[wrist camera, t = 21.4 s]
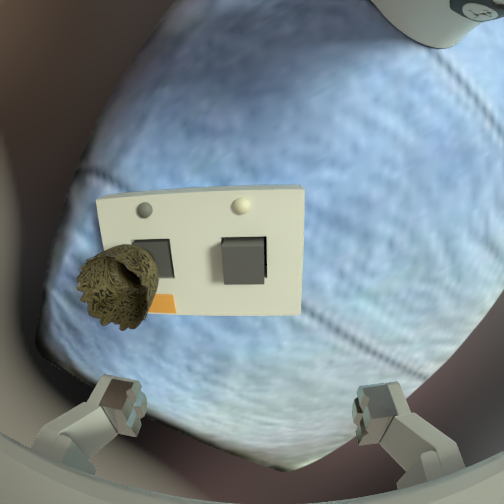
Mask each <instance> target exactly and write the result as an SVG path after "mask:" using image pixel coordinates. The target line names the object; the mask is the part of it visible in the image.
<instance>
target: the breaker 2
mask: <svg viewBox="0 0 504 504" xmlns="http://www.w3.org/2000/svg"><path fill="white" fill-rule="evenodd" d="M221 251H222V265H223V278H224V285H257V284H264V236H262V237H225V238H224V241H223V244H222V246H221Z"/></svg>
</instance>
